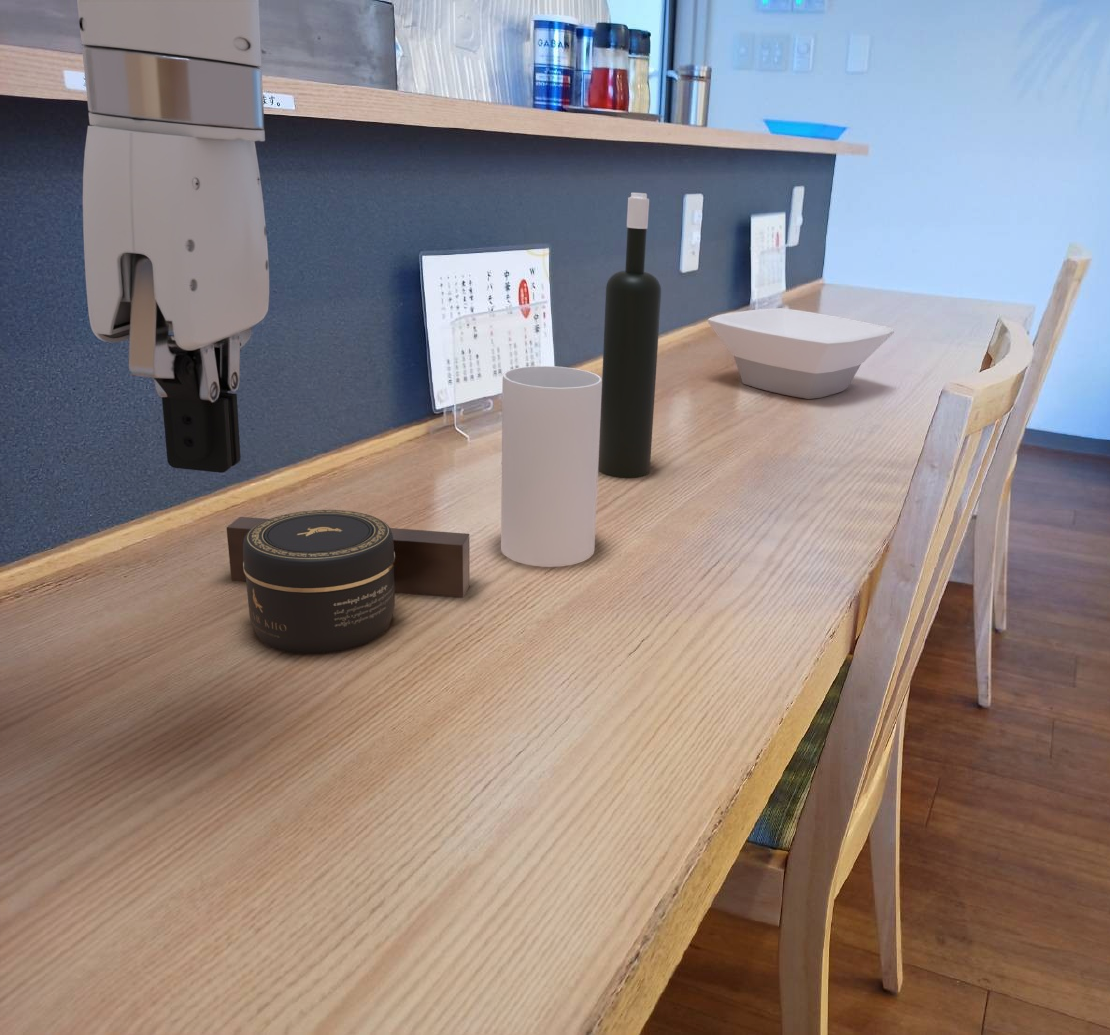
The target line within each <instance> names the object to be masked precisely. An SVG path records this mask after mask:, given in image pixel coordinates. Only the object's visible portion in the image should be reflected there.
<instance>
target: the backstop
mask: <svg viewBox="0 0 1110 1035" xmlns="http://www.w3.org/2000/svg"><path fill="white" fill-rule="evenodd" d="M268 519H269V518H263V517H252V516H251V517H249V516H239V517H238V518H237V519H235V520H234V521H233V522H231V523H230V524H229V525H228V526H226V538H227V550H228V558H229V571H230V580H231V582H241V583H246V575H245V573H244V569H243V562H244V558H243V542H244V538H245V536H246V534H247V533H248V531H250V530H251V529H252V528H253V527H255V526H256V525H258V524H259V523H261V522H264V521H266V520H268ZM390 529H391V531H392V535H393V542H394V552H395V563H394V589H395V594H403V595H404V594H406V595H418V596H433V597H445V598H460V599H463V598H464V597H465V595H466V593H467V591H468V590H469V588H470V586H471V585H470V582H471V581H470V579H471V578H470V574H471V572H470V567H471V565H470V564H471V562H470V561H471V560H470V556H471V555H470V552H471V551H470V549H471V548H470V546H471V545H470V533H465V532H449V531H436V530H424V529H421V530H420V529H410V528H399V527H398V528H397V527H396V528H395V527H390Z"/></svg>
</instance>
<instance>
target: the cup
mask: <svg viewBox="0 0 1110 1035" xmlns="http://www.w3.org/2000/svg"><path fill="white" fill-rule="evenodd" d="M501 390H502V396H501V397H502V398H501V400H502V401H501V489H500V490H501V491H500V492H501V494H500V495H501V501H500V502H501V504H500V505H501V506H500V512H501V513H500V516H501V517H500V551H501V553H502V554H503V556H505V557H506V558H507V559H510V560H511V561H514V562H516V563H519V564H524V565H527V566H534V567H543V568H551V567H552V568H557V567H567V566H573V565H576V564H579V563H582V562H585V561H587V560H588V559H590V558H591V557H592V556H593V555H594V553H595V545H596V524H597V523H596V521H597V520H596V519H597V505H598V504H597V500H598V483H599V482H598V480H599V470H598V461H599V438H600V416H601V393H602V376H600V375H598V374H597V373H595V372H591V371H588V370H584V369H579V368H573V367H565V366H556V365H555V366H554V365H534V366H533V365H531V366H522V367H521V366H520V367H515V368H511V369H508V370H506V371H505V372H503V374H502V389H501Z"/></svg>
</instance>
